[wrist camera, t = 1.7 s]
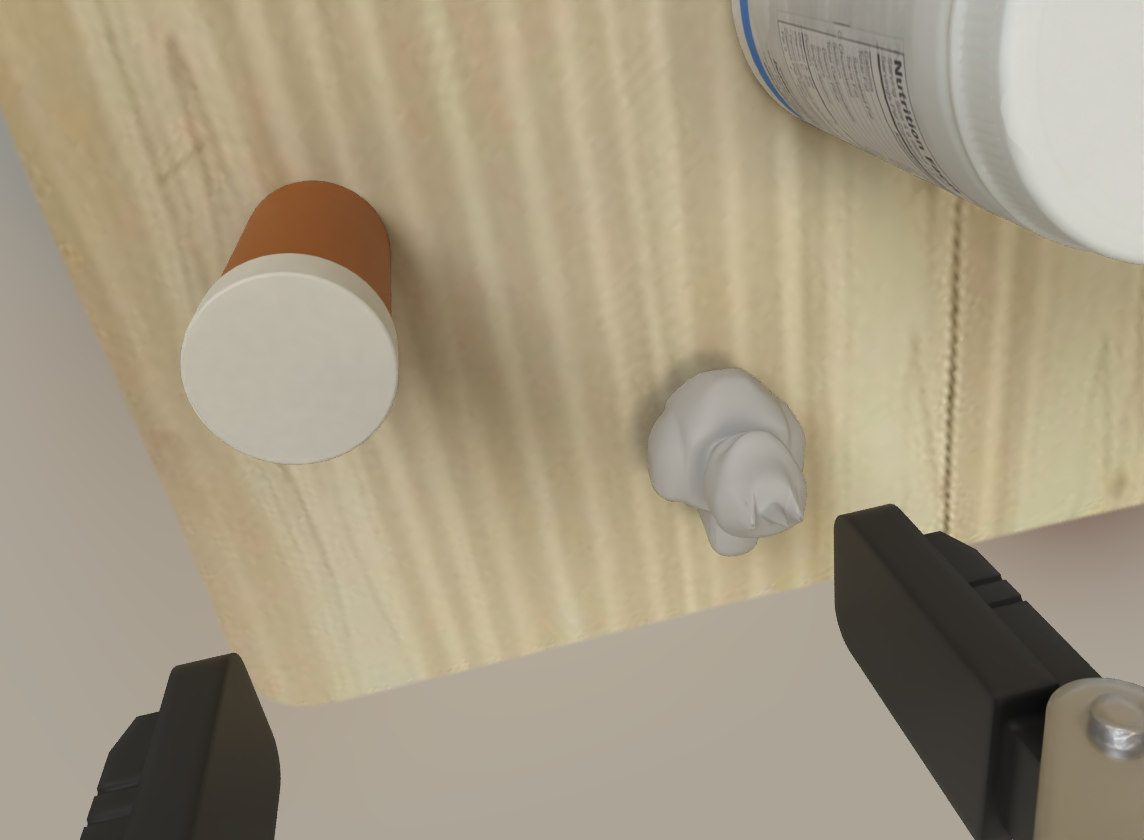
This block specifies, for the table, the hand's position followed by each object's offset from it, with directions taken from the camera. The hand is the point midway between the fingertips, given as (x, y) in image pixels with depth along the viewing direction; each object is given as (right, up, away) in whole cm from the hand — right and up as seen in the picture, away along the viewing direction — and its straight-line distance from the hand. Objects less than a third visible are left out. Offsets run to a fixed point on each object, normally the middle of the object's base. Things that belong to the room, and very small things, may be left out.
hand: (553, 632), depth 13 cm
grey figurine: (+5, +3, +22) cm, 23 cm away
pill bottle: (-8, +8, +17) cm, 20 cm away
